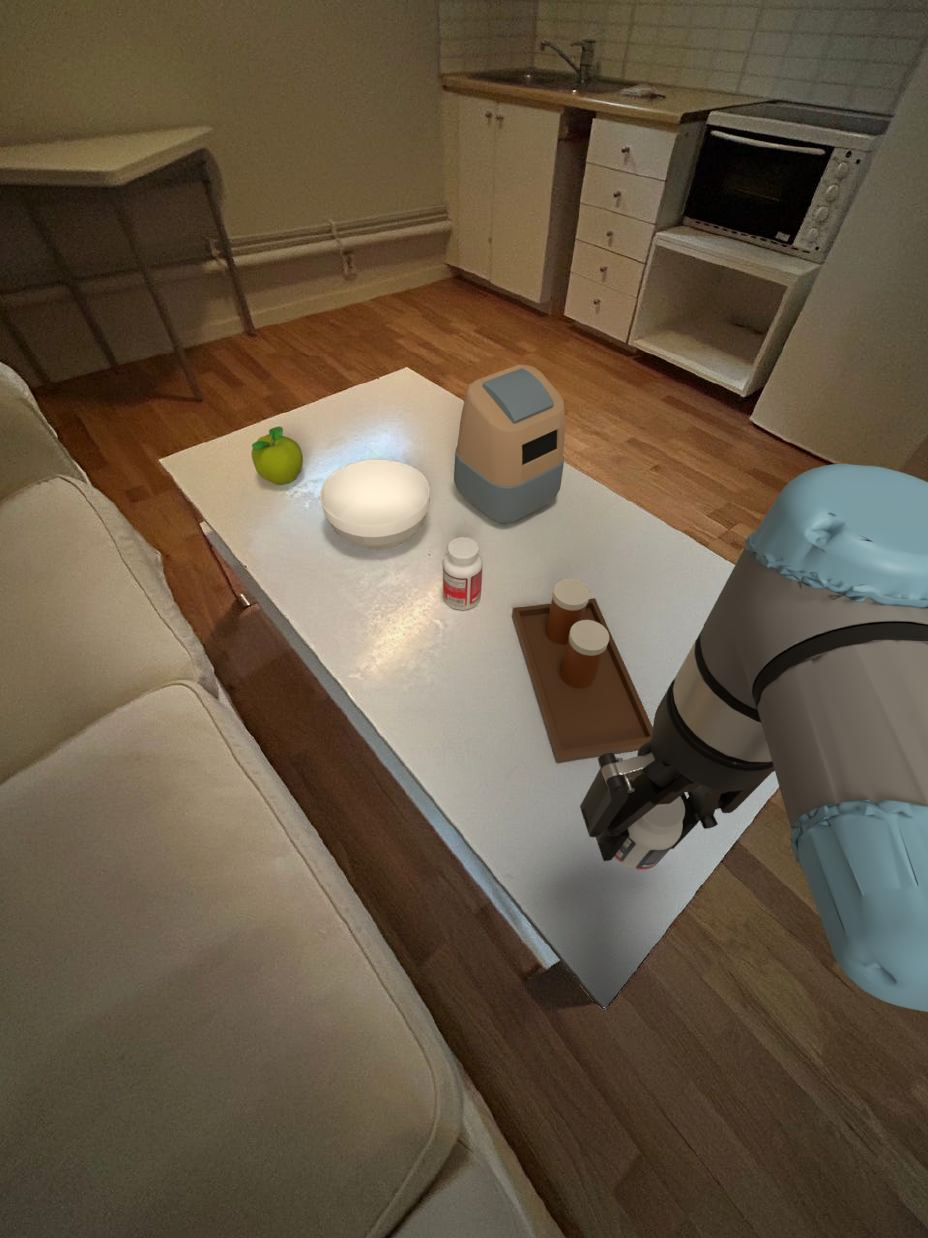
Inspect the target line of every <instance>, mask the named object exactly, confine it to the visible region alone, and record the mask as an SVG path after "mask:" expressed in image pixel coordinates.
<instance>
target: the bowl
mask: <svg viewBox="0 0 928 1238" xmlns="http://www.w3.org/2000/svg"><path fill="white" fill-rule="evenodd" d="M319 501H320V504H321V508H322V510H323V513H324V516H325V518H326V519H327V521H328V523H329V525H330V526H331V528H332V529H333V531H334V532H335V533H336V534H338V536H340V537H341V538H342V539H344V540H346V541H347V542H349V543H351V544H353V545H355V546H358V547H360V548H366V549H371V550H385V549H390V548H393V547H395V546H397V545H398V546H399V545H400V544H402V543H404V542H406V541H408V540H409V539H411V537H413V536H414V535H415V534H416V533H417V532H418V530H419V529H420V528H421V527H422V526H423V525H424V522H425V520H426V518H427V514H428V511H429V508H430V503H431V502H430V501H431V486H430V483H429V481H428V479H427V478H426V476H425V475H424V474H423V473H422V472H421V471H420V470H419V469H417V468H416V467H414V466H412V465H410V464H408V463H405V462H401V461H399V460H391V459H380V458H379V459H365V460H361V461H356V462H352V463H350V464H347V465H345V466H342V467H339V469H337V470H336V471H334V472H333V473H331V474H330V475H329V476H328V477H327V478H326V479H325V480H324V482H323V483H322V485H321V488H320V491H319Z"/></svg>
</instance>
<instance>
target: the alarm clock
mask: <svg viewBox="0 0 928 1238" xmlns="http://www.w3.org/2000/svg"><path fill="white" fill-rule="evenodd" d="M565 409H566V408H565V401H564V399H563V396H562V395H561V392H560V391H558V390H557V388H555V386H554V385H553V384H552V383H551V382H550V380H549V379H548V378H547V377H546V376H545V375H544V374H543V373H542V372H541V370H539V369H538V368H536V367H535V366H532V365H529V364H526V363H525V364H515V365H513V366H510V367H507V368H505V369H502V370H499V371H496V372H493V373H491V374H488V375H486V376H482V377H480V378H478V379H475V380H473V381H472V382H471V383H469V385H468V386H467V388H466V393H465V396H464V401H463V406H462V411H461V415H460V421H459V429H458V438H457V446H456V447H455V453H454V466H453V467H454V469H453V482H454V485H455V488H456V490H457V491H458V493H459V494H460V496H462V497H463V498H464V499H465V500H466V501H467V502H469V503H470V504H472V505H473V506H474V507H475V508H476V509H478V510H479V511H480V512H482V513H483V514H484V515H485V516H487V517H488V518H489V519H491V520H492V521H495V522H497V523H499V524H509V523H514V522H516V521H518V520H520V519H522V518H524V517H526V516H528V515H530V514H532V513H534V512H535V511H537V510H539V509H541V508H543V507H545V506H546V505H547V504H549V503H551V502H552V501H554V499H555V498H556V497H557V495H558V494H559V492H560V491H561V486H562V479H563V473H564V465H565V457H564V453H565V452H564V451H565V450H564V449H565V440H566V411H565Z"/></svg>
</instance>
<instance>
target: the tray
mask: <svg viewBox="0 0 928 1238" xmlns="http://www.w3.org/2000/svg"><path fill="white" fill-rule="evenodd" d="M550 606H551V602H550V603H543V604H534V605H526V606H517V607H512V612H511V618H512V622H513V625H514V628H515V631H516V635H517V638H518V642H519V645H520V648H521V651H522V654H523V659H524V662H525V664H526V668H527V671H528V674H529V677H530V681H531V683H532V688H533V691H534V694H535V697H536V700H537V704H538V707H539V711H540V713H541V717H542V720H543V723H544V727H545V730H546V734H547V737H548V740H549V744H550V746H551V750H552V753H553V757H554V759H555V763H556V764H560V763H561V764H562V763H566V762H573V761H580V760H585V759H592V758H599V757H600V756H601V755H603V754H606V753H614V754H615V755H618V754H623V753H624V754H625V753H632V752H638V750H639V748H640V747H641V746H642V745H644V744H645V743H647V742H648V741H649V740H650V739H651V738H652V733H653V724H652V722H651V720H650V718H649V716H648V714H647V711H646V709H645V707H644V704H643V702H642V700H641V698H640V696H639V693H638V692H637V689H636V687H635V684H634V682H633V680H632V678H631V675H630V673H629V671H628V669H627V667H626V664H625V662H624V660H623V657H622V655H621V653H620V651H619V649H618V647H617V644H616V642H615V639H614V637H613V634H612V633H611V631H610V628H609V626H608V624H607V622H606V619H605V617H604V615H603V612H602V610H601V608H600V606H599V604H598V602H597V600H596V598H595V597H594V598H589V601H588V603H587V605H586V608H585V612H584V615H583V619H582V620H592V621H595V622H598V623H600V624H601V625H603V626H604V627H605V628H606V630H607V631H608V633H609V642H608V645H607V647H606V649H605V651H604V653H603V656H602V659H601V662H600V664H599V667H598V670H597V673H596V675H595V678H594V681H593V682H592V684H591V685H589V686H588V687H585V688H574V687H571V686H569V685H568V684H566V683H565V682H564V681H563V679H562V677H561V675H560V669H561V665H562V662H563V658H564V654H565V651H566V647H567V644H557V643H555V642H553V641H551V640H550V639H549V638H548V636H547V635H546V625H547V620H548V615H549V611H550Z"/></svg>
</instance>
